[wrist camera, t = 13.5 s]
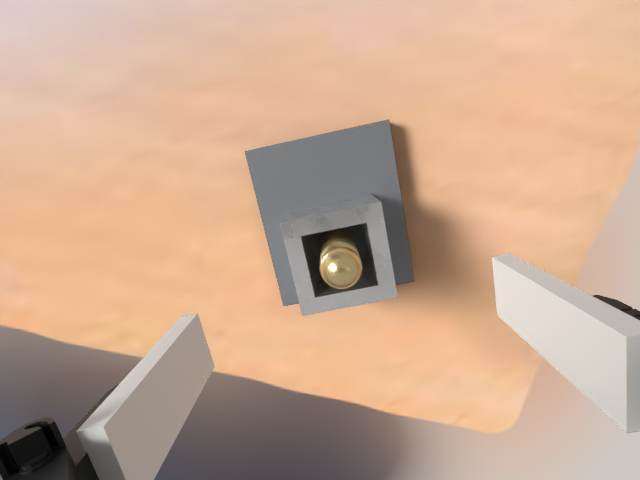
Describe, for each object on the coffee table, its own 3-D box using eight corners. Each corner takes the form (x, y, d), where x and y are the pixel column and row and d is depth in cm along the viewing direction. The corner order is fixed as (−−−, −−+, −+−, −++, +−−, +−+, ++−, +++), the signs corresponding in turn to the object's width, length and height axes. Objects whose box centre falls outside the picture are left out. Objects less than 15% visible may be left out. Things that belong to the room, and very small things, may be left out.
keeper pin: (318, 228, 29) (314, 257, 20) (350, 222, 29) (360, 248, 20) (324, 259, 30) (324, 299, 21) (356, 253, 30) (368, 291, 21)
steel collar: (289, 210, 29) (279, 222, 23) (370, 193, 28) (381, 201, 23) (307, 286, 30) (302, 315, 25) (383, 271, 30) (397, 297, 24)
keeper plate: (248, 151, 29) (244, 151, 28) (385, 121, 28) (388, 119, 27) (285, 299, 32) (283, 306, 31) (410, 275, 32) (414, 281, 30)
